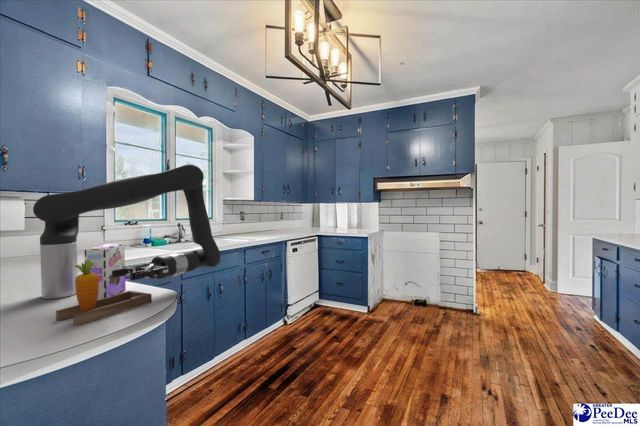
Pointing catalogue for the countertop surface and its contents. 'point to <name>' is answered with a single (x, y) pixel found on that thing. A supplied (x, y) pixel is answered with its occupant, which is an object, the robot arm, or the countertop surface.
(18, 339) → the countertop surface
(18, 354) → the countertop surface
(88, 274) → the carrot
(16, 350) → the countertop surface
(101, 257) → the candy box
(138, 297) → the guide channel
